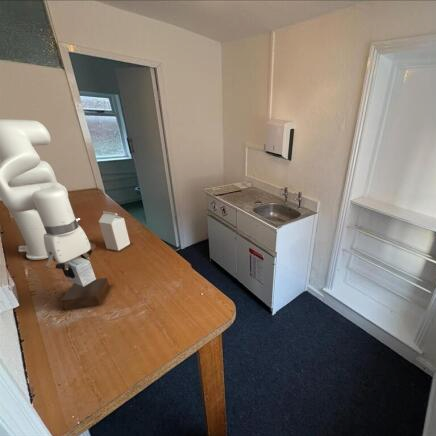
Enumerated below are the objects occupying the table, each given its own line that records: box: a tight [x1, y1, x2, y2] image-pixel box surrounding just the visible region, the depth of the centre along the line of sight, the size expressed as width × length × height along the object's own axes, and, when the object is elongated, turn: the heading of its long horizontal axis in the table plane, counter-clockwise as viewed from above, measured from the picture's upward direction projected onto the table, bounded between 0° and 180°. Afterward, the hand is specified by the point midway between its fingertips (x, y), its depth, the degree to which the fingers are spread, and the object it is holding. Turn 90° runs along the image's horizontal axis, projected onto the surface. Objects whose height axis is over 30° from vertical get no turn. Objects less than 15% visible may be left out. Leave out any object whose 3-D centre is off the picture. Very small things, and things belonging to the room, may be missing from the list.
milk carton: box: [98, 210, 131, 252], centre depth 114 cm, size 7×7×19 cm
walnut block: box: [60, 277, 110, 311], centre depth 86 cm, size 10×10×4 cm
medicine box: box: [66, 256, 97, 287], centre depth 81 cm, size 8×4×9 cm, turn 71°
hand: (79, 272), depth 82 cm, fingers closed on medicine box, 4 cm apart
